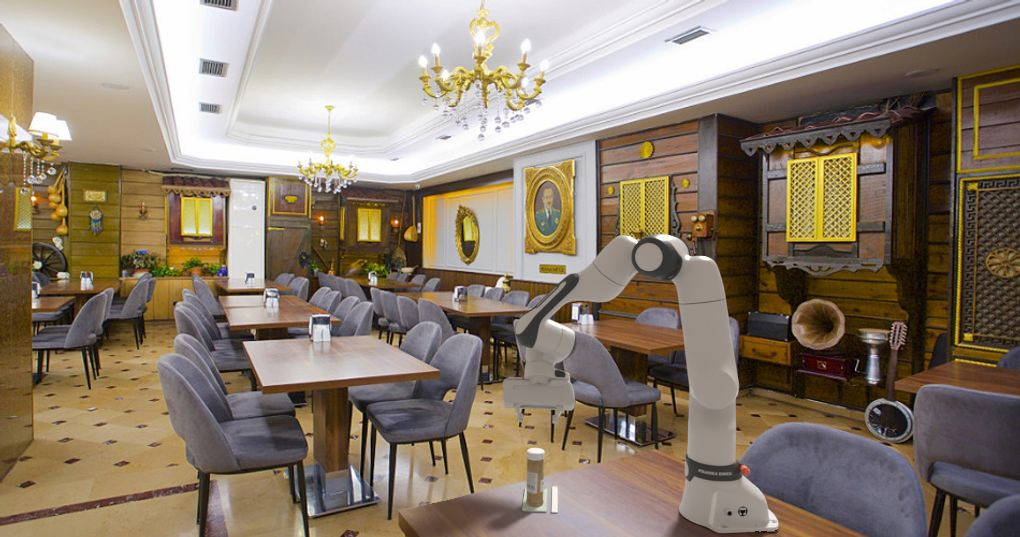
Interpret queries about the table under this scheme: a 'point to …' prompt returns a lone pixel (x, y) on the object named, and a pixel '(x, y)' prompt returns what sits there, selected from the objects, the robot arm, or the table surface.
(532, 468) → the sprinkles bottle
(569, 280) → the robot arm
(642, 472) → the table surface
